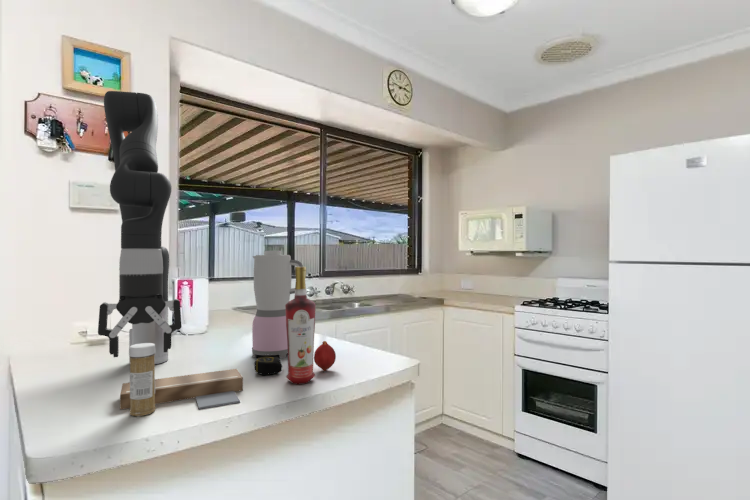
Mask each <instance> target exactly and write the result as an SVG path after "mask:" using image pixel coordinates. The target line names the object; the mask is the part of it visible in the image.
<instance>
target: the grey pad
mask: <svg viewBox="0 0 750 500" xmlns="http://www.w3.org/2000/svg"><path fill="white" fill-rule="evenodd" d="M195 400H196V404H197V408H198V410H203V409H209V408H213V407H214V408H215V407H221V406H227V405H233V404H240V403H241V399H240V398H239V397H238V395H237V393H236V392H234V391H229V392H223V393H216V394H210V395H203V396H197V397H196V398H195Z"/></svg>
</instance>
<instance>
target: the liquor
mask: <svg viewBox="0 0 750 500" xmlns="http://www.w3.org/2000/svg"><path fill="white" fill-rule="evenodd" d="M294 276H295V287H294V288H295V293H294V297H293V299H290V300H289V302H288V303H287V304H286V305H285V308H286V330H287V346H288V353H287V366H288V367H287V375H286V379H287V380H288V381H290V382H291V383H292V384H294V385H304V384H308V383H310V382H311V381H312V380H313V379H314V378H315V377H316V374H315V373H314V353H315V350H314V349H315V346H314V345H315V329H316V307H317V305H316V303H315V301H313V300H311V299H309V298H308V297H307V287H306V277H307V266H303V267H297V266H295V267H294Z"/></svg>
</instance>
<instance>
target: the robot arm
mask: <svg viewBox="0 0 750 500" xmlns="http://www.w3.org/2000/svg"><path fill="white" fill-rule="evenodd" d="M103 109H104V116H105V121H106V125H107V129H108V130H107V131H108V134H109V141H110V146H111V150H112V155H113V156H112V157H113V162H114V173H113V175H112V177H111V180H110V182H109V194H110V196H111V198H112V200H113V201H115V202H116V203H117V204H118V205H119V210H120V216H121V225H120V256H119V261H118V262H119V269H118V271H119V273H118V274H119V275H118V277H119V279H118V281H119V289H118V290H119V291H118V292H119V294H118V295H119V298H118V302H117V303H108V302H106V301H105V302H102V303H101V304H100V306H99V309H98V311H99V314H98V325H97V326H98V328H97V334H98V336H103V337H107V338H108V341H109V344H108V345H109V346H108V347H109V350H108V352H109V354H110V355H112V356H113V358H118V357H119V353H120V352H119V351H120V349H119V346H120V345H119V340H120V339H119V336H118V334H119V333H120V332H121V331H122V330H124V328H125V326H126V325H127V324H128V323H129V324H131V329H129V332H128V334H129V335H128V336H129V337H128V338H129V340H128V341H129V343H128V345H129V347H130V346H132V345H135V344H140V343H153V344H155V355H154V365H158V364H162V363H165V362H168V360H169V350H170V349H171V348H172V334H173V332H175V331H179V330H181V329H182V315H181V314H182V313H181V301H180V299H177V298H175V299H174V300H169V273H170V272H169V271H170V252H169V250H168V248H166V247H165V246H162V232H163V230H162V228H163V222H164V217H165V212H166V211H167V206H168V205H169V202H170V201H169V200H170V198H171V195H172V183H171V181H170V179H169V178H168V176H167V175H165V174H164V173H162V172H158V171H159V163H158V157H157V156H158V155H157V138H158V131H159V130H158V128H159V126H158V125H159V118H158V116H159V115H158V108H157V104H156V101H155V99H154V97H153V96H152V95H150V94H147V93H144V92H132V91H121V90H108V91H106V92H105V93H104V95H103ZM124 132H128V134H127V135H126V136H125V133H124ZM114 310H117V311H118V313H119V314H120V315H121V316H122V318H121V319H119V321H118V322H117V323H116V325H115V326H114V327H113V328H112V329H111V328H108V320H109V319H108V317H109V316H110V315H112V314H113V311H114ZM169 311H170V312H173V321H174V322H173V323H172V324H169ZM129 347H128V348H129ZM128 356H129V355H128ZM128 360H129V361H128V362H129V364H130V356H129V358H128Z"/></svg>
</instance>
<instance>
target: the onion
mask: <svg viewBox="0 0 750 500" xmlns="http://www.w3.org/2000/svg"><path fill="white" fill-rule="evenodd" d="M336 357H337V356H336V351H335V349H334V348H333V347H332V346H331V345H330V344H329V343H328V342H327V341H326V340H324V341H322V344H321V345H319V346H317V348H316V349H315V350H314V353H313V363H315V365H316V366H317V367H318V368H320V369H321V370H322V371H323V372H326V371H328V370H329V369H330V368H332V367H333V365H334V364H335V362H336Z"/></svg>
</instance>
